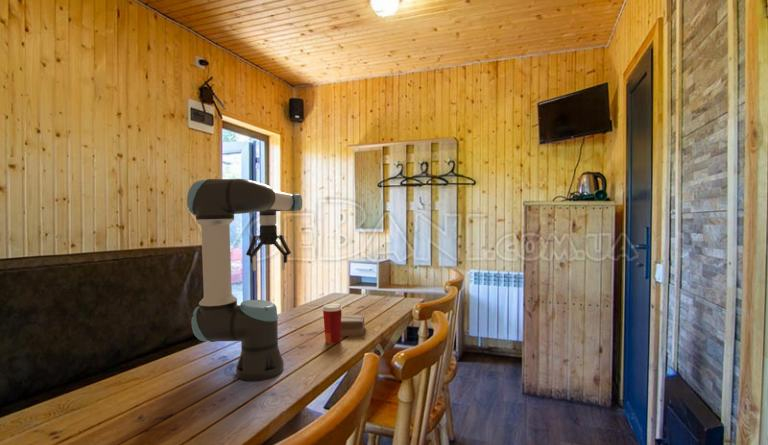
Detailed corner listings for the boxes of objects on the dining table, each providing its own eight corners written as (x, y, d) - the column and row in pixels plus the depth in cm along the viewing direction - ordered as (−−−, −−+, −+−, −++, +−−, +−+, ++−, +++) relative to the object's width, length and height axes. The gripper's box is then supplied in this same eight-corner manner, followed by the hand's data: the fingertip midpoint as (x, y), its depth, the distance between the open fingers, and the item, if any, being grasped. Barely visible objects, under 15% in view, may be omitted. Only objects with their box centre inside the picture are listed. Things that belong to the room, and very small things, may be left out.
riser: (362, 335, 158) (362, 321, 158) (335, 336, 158) (334, 321, 158) (364, 327, 170) (364, 314, 170) (338, 327, 170) (338, 314, 170)
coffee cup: (344, 338, 155) (344, 303, 155) (340, 345, 147) (339, 308, 147) (325, 338, 156) (324, 303, 156) (320, 344, 148) (319, 307, 148)
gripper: (296, 224, 174) (297, 268, 175) (244, 225, 174) (245, 269, 175) (292, 224, 167) (293, 270, 167) (238, 225, 167) (239, 271, 167)
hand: (269, 270), depth 171 cm, fingers open, 13 cm apart
